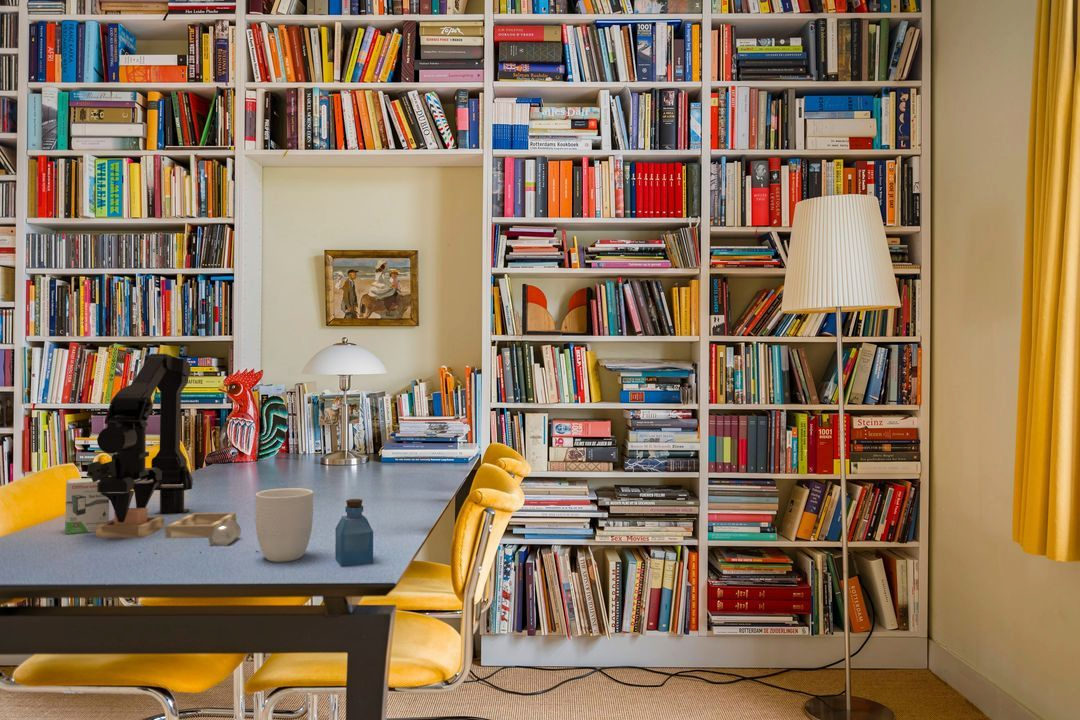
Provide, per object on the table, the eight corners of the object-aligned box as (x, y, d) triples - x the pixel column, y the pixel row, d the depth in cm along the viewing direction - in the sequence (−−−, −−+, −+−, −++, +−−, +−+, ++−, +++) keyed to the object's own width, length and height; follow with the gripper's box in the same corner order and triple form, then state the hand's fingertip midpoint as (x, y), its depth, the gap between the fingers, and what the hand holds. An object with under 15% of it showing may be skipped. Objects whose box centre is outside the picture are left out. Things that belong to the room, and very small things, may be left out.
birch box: (192, 525, 187) (192, 513, 187) (236, 525, 187) (236, 512, 187) (165, 540, 171) (165, 526, 171) (213, 540, 172) (213, 526, 172)
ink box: (65, 534, 176) (65, 482, 176) (64, 530, 181) (65, 479, 181) (109, 530, 181) (109, 479, 181) (107, 526, 185) (108, 476, 185)
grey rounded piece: (216, 535, 171) (226, 517, 171) (234, 545, 171) (244, 527, 172) (204, 542, 164) (215, 524, 164) (223, 552, 164) (234, 534, 165)
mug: (237, 553, 160) (238, 489, 160) (289, 545, 168) (289, 484, 168) (269, 568, 149) (270, 499, 149) (323, 558, 157) (323, 492, 157)
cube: (124, 529, 179) (124, 507, 179) (147, 529, 179) (147, 507, 179) (114, 534, 174) (114, 512, 174) (137, 534, 174) (137, 511, 174)
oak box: (118, 530, 181) (118, 517, 181) (163, 529, 182) (163, 516, 182) (95, 540, 171) (95, 526, 171) (143, 539, 172) (143, 526, 172)
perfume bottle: (340, 566, 150) (341, 504, 150) (335, 559, 156) (335, 498, 156) (373, 563, 153) (373, 502, 153) (366, 556, 159) (367, 496, 159)
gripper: (114, 444, 185) (114, 510, 185) (71, 453, 167) (71, 527, 167) (163, 444, 186) (162, 510, 186) (125, 453, 167) (125, 526, 167)
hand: (130, 518), depth 177 cm, fingers open, 9 cm apart
